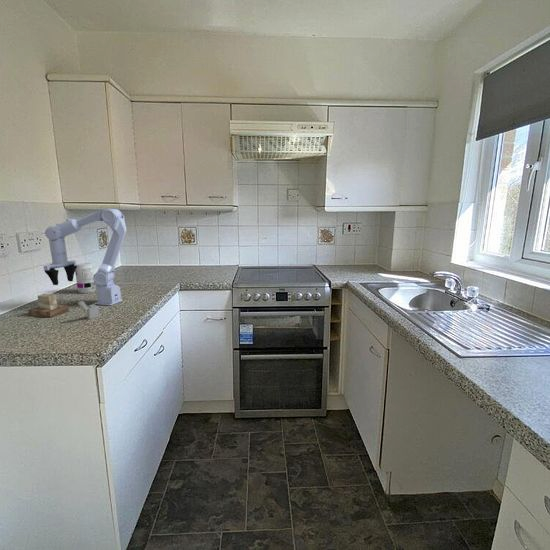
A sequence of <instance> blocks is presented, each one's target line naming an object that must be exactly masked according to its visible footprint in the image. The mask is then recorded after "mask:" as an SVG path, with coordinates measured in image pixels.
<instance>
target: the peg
mask: <svg viewBox="0 0 550 550" xmlns="http://www.w3.org/2000/svg"><path fill="white" fill-rule="evenodd" d="M37 300H38V301H37V302H38V307H39V308H40V309H44V310H53V309H56V308H57V305H58V302H57V296H56V294H52V293H42V294H39V295H37Z"/></svg>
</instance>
